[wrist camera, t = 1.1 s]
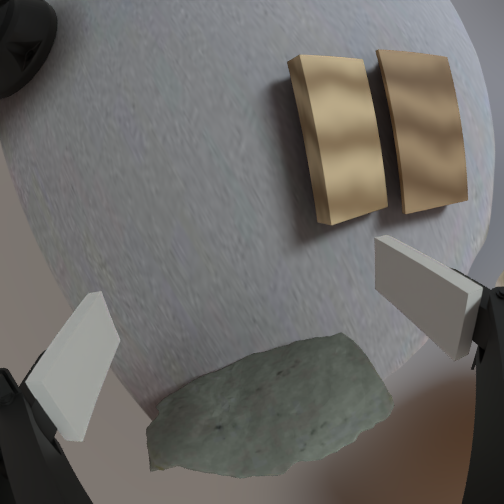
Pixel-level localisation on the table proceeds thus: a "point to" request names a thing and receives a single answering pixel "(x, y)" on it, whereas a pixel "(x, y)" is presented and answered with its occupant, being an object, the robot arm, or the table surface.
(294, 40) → the table surface
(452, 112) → the board
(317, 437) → the rock
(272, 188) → the table surface
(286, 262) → the table surface
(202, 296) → the table surface
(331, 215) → the plank
